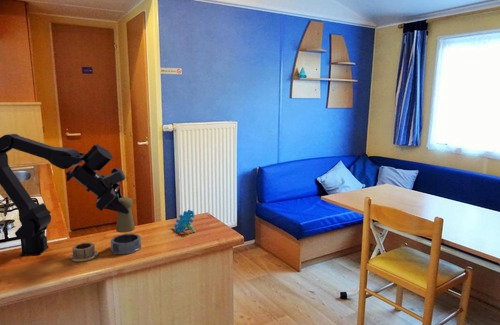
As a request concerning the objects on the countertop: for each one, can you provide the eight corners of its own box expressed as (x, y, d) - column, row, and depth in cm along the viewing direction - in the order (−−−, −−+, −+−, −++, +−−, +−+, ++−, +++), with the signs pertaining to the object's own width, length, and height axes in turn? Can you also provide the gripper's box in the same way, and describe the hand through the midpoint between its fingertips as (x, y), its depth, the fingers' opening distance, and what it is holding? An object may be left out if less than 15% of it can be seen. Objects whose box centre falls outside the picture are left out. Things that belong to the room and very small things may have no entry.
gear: (170, 223, 139) (187, 204, 140) (180, 231, 142) (197, 212, 143) (177, 236, 129) (196, 216, 131) (188, 244, 133) (206, 224, 134)
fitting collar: (107, 255, 114) (107, 244, 113) (115, 243, 123) (114, 234, 123) (138, 253, 115) (137, 243, 114) (143, 242, 124) (143, 232, 124)
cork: (129, 233, 115) (127, 201, 113) (112, 231, 116) (110, 199, 114) (138, 226, 121) (136, 196, 119) (122, 225, 122) (120, 195, 120)
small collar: (66, 262, 108) (65, 251, 108) (76, 252, 116) (75, 241, 116) (93, 261, 109) (92, 250, 109) (101, 250, 117) (100, 240, 117)
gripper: (105, 167, 105) (145, 200, 109) (112, 157, 122) (146, 186, 127) (78, 194, 104) (119, 226, 109) (89, 180, 122) (124, 209, 126)
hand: (128, 210), depth 118 cm, fingers closed on cork, 5 cm apart
